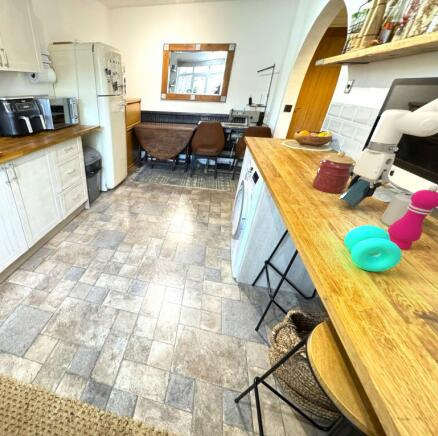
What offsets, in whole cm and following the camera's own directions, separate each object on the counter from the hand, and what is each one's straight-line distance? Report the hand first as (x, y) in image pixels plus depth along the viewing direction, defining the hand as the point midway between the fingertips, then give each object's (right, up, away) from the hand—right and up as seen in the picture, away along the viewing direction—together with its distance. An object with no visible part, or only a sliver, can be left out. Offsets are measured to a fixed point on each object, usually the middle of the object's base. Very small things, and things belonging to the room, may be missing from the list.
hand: (359, 192), depth 95 cm
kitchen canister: (+2, +4, +20) cm, 21 cm away
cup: (-4, -4, +2) cm, 6 cm away
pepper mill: (-5, -19, -19) cm, 27 cm away
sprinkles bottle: (+14, +2, +16) cm, 22 cm away
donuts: (-23, -23, -26) cm, 42 cm away
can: (+5, -13, -8) cm, 16 cm away
